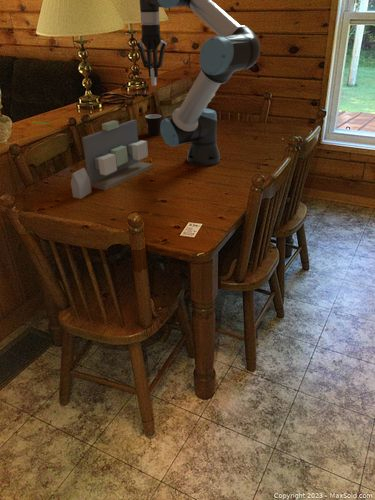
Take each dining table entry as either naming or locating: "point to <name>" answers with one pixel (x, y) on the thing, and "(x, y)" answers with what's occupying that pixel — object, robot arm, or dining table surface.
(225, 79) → the robot arm
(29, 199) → the dining table surface
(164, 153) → the dining table surface
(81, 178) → the grey upright block
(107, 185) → the grey upright panel
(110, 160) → the key
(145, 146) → the key
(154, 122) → the coffee mug
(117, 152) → the key middle
